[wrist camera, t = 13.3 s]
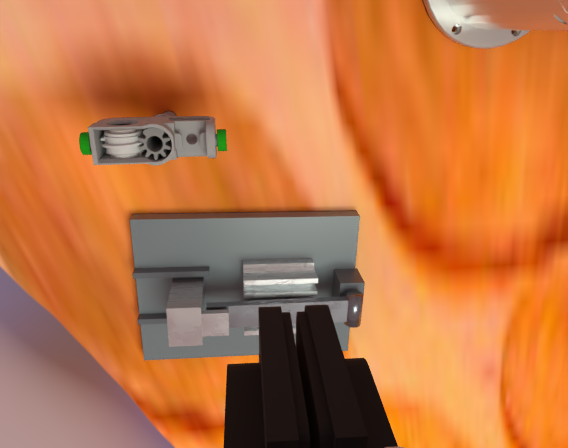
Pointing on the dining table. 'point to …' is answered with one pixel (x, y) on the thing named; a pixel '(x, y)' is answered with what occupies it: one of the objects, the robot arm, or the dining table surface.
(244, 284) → the heatsink
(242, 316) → the silver metal bar
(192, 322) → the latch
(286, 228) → the socket board
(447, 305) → the dining table surface
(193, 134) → the mechanical component
